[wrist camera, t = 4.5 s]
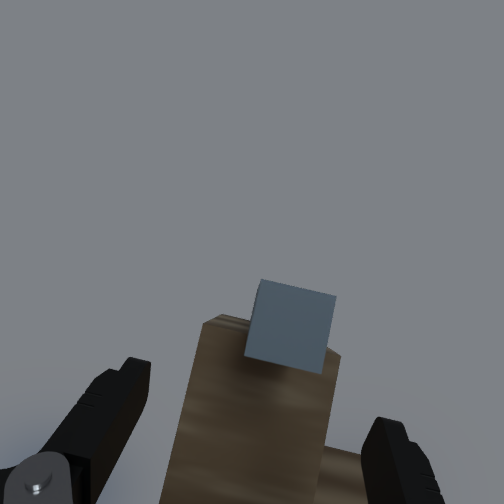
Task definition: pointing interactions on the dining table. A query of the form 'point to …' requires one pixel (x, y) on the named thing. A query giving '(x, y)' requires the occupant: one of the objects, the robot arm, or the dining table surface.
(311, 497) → the plinth
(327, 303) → the blue-gray bar
